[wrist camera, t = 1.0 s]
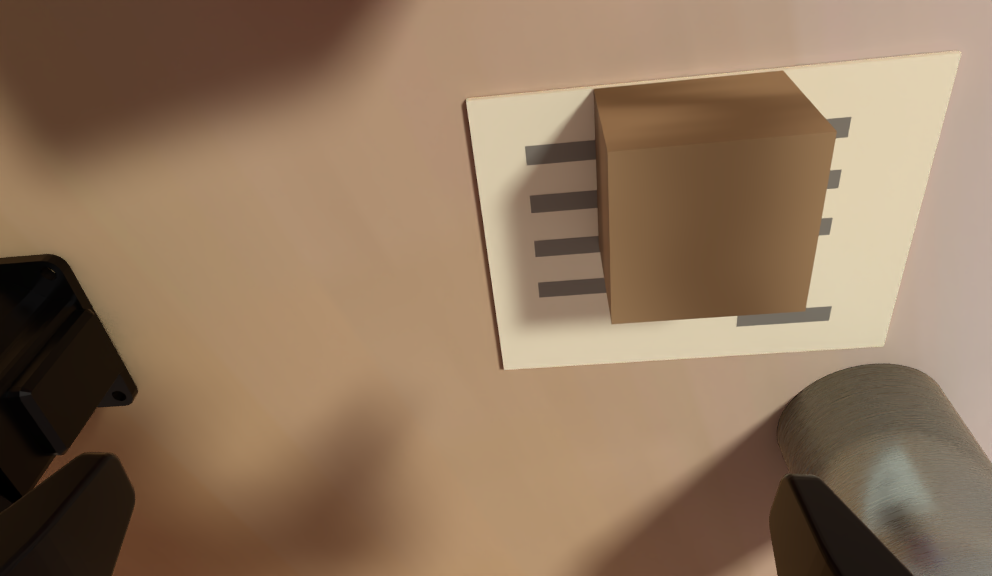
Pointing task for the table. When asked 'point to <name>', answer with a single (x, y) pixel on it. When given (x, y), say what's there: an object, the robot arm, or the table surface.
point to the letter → (822, 326)
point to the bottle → (897, 464)
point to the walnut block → (709, 196)
